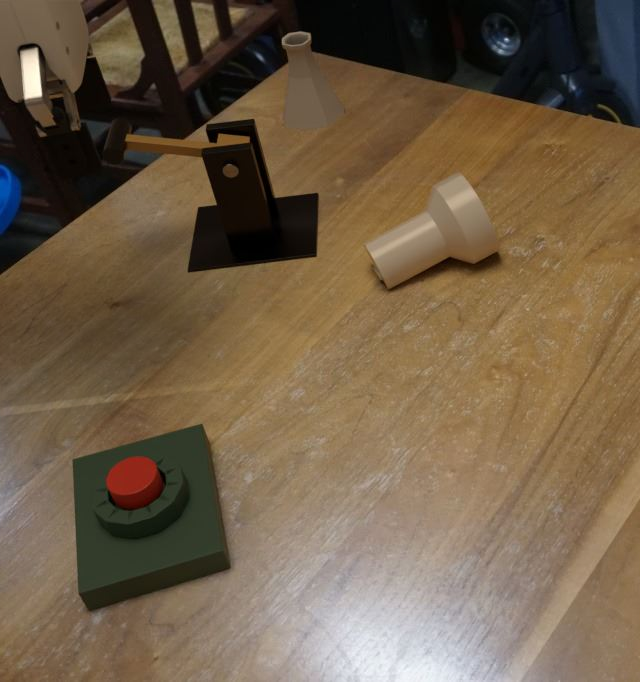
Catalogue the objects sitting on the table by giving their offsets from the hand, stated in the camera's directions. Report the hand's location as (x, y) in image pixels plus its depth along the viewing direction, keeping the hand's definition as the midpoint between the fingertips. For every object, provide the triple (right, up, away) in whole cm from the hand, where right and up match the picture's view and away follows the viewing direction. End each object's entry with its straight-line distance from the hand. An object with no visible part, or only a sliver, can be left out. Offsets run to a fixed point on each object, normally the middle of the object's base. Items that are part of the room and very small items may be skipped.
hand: (87, 139), depth 84 cm
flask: (+10, +9, +38) cm, 41 cm away
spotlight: (+26, -8, +18) cm, 33 cm away
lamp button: (+5, -26, -4) cm, 27 cm away
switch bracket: (+8, -5, +23) cm, 25 cm away
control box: (+6, -29, -2) cm, 29 cm away
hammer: (+2, +1, +16) cm, 16 cm away
